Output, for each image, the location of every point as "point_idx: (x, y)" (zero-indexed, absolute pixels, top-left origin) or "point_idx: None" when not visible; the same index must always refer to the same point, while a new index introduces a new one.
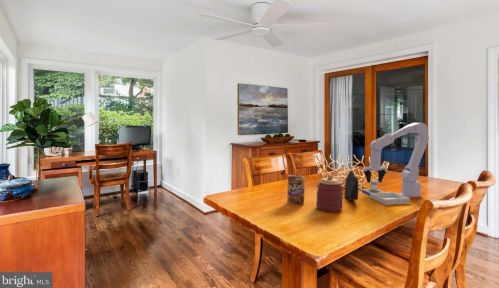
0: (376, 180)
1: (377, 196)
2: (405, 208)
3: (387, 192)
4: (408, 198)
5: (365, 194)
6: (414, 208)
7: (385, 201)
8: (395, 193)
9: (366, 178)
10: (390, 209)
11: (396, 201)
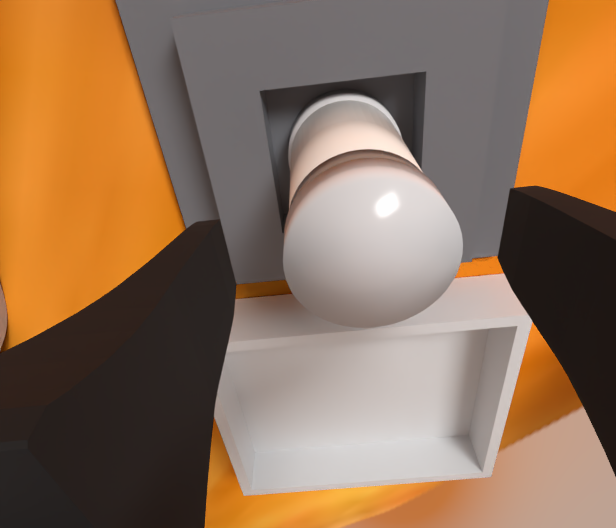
0: (442, 242)
1: (222, 434)
2: (356, 493)
3: (434, 331)
4: (476, 476)
5: (189, 191)
6: (416, 494)
7: (253, 477)
8: (507, 355)
9: (149, 264)
10: (243, 504)
11: (355, 464)
